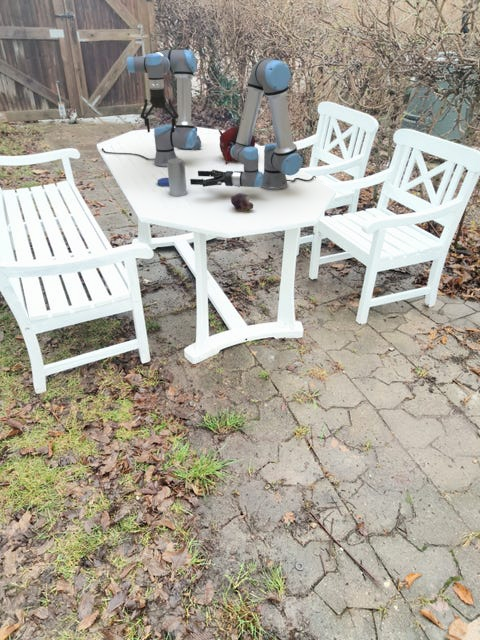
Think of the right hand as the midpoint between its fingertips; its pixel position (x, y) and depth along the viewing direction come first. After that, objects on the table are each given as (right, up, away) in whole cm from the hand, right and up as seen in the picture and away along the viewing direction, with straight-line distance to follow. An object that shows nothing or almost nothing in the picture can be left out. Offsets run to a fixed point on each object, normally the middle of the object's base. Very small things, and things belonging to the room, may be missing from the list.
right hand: (194, 177), depth 239 cm
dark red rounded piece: (+22, +32, +63) cm, 75 cm away
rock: (+25, -21, -14) cm, 35 cm away
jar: (-9, -6, +7) cm, 14 cm away
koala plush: (-13, +51, +90) cm, 104 cm away
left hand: (-19, +26, +5) cm, 33 cm away
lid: (-18, +5, +20) cm, 28 cm away
